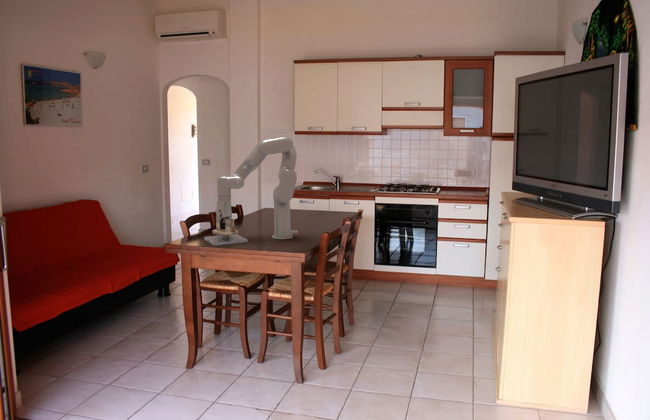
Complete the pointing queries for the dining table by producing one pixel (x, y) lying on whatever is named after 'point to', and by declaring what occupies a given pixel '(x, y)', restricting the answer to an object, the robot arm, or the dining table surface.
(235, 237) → the eye plate
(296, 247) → the dining table surface
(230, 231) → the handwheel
